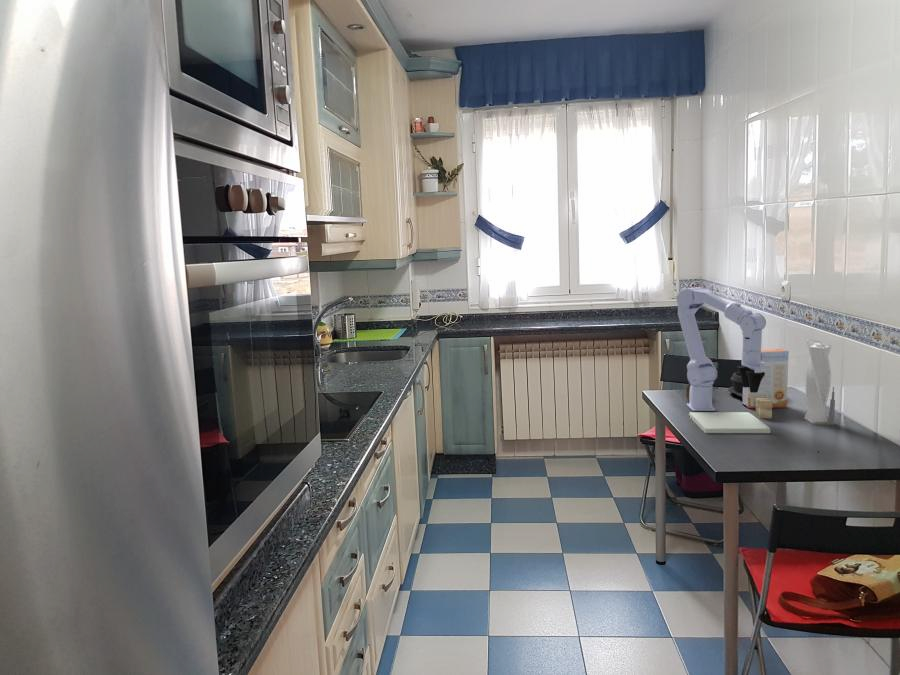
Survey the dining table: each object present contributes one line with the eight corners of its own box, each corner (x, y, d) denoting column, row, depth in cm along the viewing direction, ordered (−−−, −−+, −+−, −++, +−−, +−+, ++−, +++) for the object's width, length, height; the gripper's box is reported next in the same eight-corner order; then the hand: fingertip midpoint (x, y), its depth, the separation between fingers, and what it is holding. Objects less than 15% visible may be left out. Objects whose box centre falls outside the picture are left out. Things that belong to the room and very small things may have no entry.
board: (689, 416, 241) (689, 412, 241) (748, 416, 239) (748, 412, 239) (705, 433, 221) (705, 428, 221) (770, 433, 220) (770, 428, 219)
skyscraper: (809, 425, 228) (814, 341, 224) (798, 419, 236) (802, 337, 232) (835, 425, 228) (840, 340, 223) (823, 418, 236) (827, 337, 231)
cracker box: (779, 404, 255) (782, 347, 252) (787, 408, 249) (789, 350, 246) (741, 404, 255) (743, 348, 252) (747, 408, 249) (750, 351, 246)
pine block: (755, 415, 241) (756, 398, 240) (767, 415, 241) (768, 398, 240) (759, 418, 237) (760, 401, 236) (771, 418, 237) (772, 401, 236)
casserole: (725, 387, 284) (726, 367, 282) (775, 389, 278) (776, 369, 276) (729, 401, 260) (730, 380, 259) (784, 404, 254) (785, 382, 253)
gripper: (771, 353, 224) (770, 394, 226) (757, 346, 238) (755, 385, 240) (749, 353, 225) (747, 394, 227) (735, 346, 239) (734, 385, 241)
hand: (750, 389), depth 234 cm, fingers open, 7 cm apart
